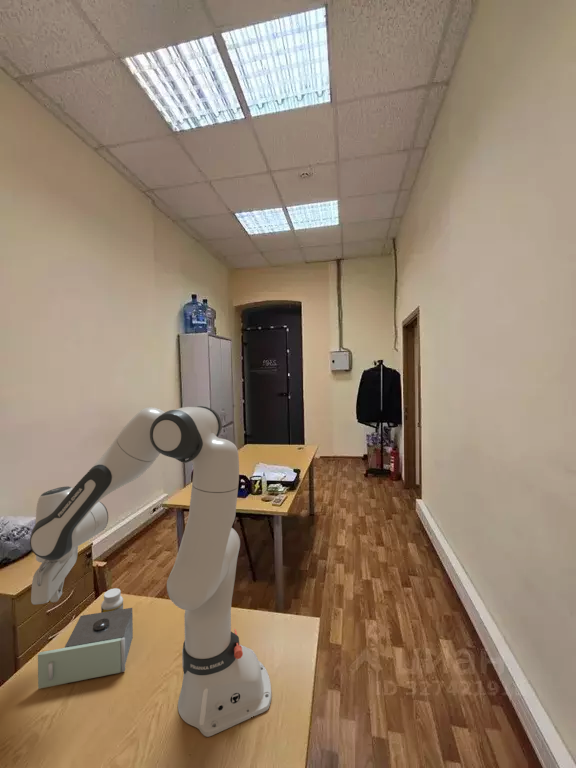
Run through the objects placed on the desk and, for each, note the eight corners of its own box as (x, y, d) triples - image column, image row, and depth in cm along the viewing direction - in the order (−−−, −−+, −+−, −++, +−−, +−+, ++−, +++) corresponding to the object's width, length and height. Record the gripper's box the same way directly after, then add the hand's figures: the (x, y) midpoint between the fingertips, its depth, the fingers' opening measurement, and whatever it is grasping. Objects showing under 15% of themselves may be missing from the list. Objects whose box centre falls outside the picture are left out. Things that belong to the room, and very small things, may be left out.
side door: (125, 668, 91) (125, 637, 91) (123, 674, 89) (123, 642, 89) (40, 685, 86) (39, 652, 86) (36, 692, 84) (35, 658, 84)
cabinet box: (132, 637, 103) (132, 605, 102) (123, 669, 91) (123, 634, 91) (81, 646, 99) (80, 613, 99) (65, 681, 88) (64, 644, 87)
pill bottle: (96, 630, 105) (96, 595, 105) (115, 618, 111) (114, 584, 111) (109, 637, 103) (109, 601, 102) (127, 624, 108) (127, 590, 108)
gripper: (53, 567, 82) (53, 623, 82) (82, 530, 102) (82, 576, 102) (22, 570, 80) (23, 628, 80) (58, 532, 100) (58, 579, 100)
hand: (56, 598), depth 91 cm, fingers closed
